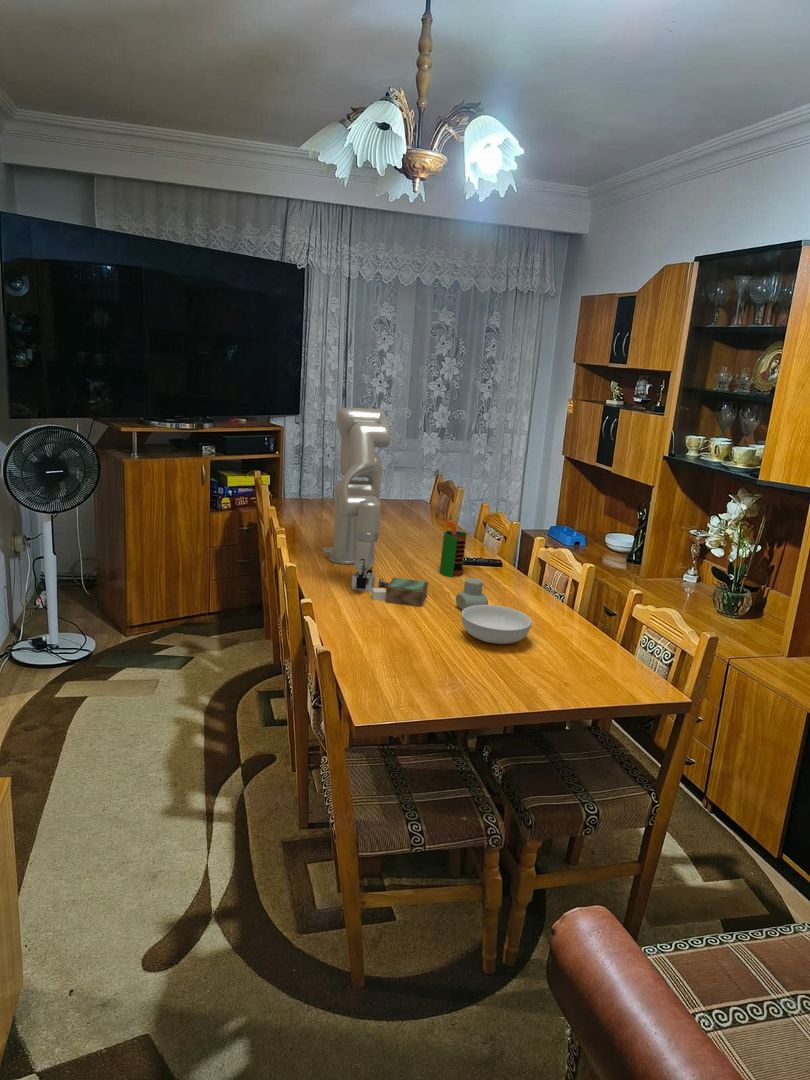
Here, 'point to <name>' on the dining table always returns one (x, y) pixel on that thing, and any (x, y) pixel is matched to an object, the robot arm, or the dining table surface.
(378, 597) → the block
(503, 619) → the serving bowl
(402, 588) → the plinth
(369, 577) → the housing
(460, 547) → the motor
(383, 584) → the loose bolt
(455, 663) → the dining table surface
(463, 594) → the grey pipe tee
